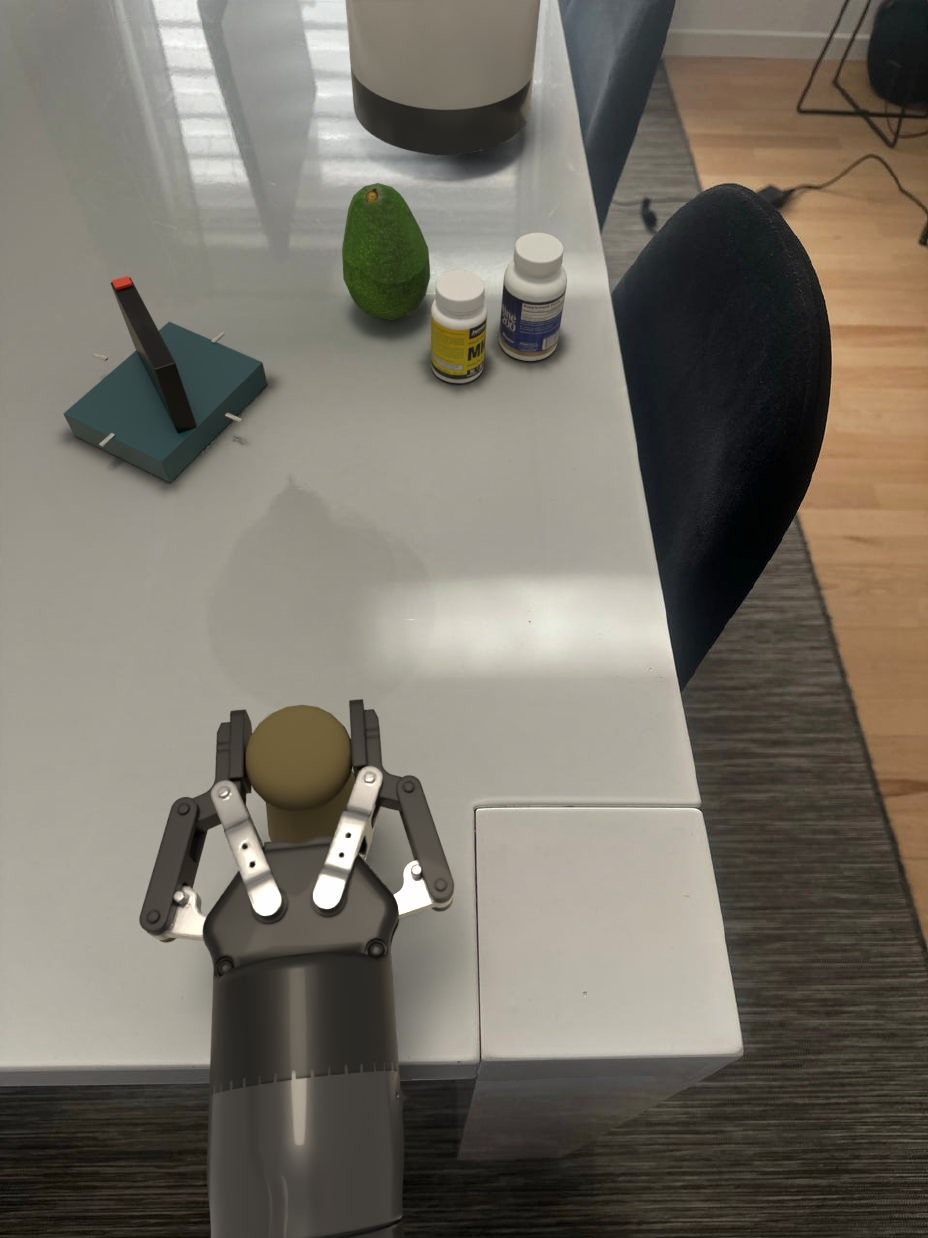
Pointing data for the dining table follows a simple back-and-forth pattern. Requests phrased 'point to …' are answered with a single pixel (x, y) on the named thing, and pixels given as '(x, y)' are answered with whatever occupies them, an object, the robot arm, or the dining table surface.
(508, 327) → the pill bottle
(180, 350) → the teal base plate
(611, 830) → the dining table surface
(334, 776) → the cork
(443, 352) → the supplement bottle
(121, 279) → the red-tipped black panel
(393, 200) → the avocado
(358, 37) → the planter
